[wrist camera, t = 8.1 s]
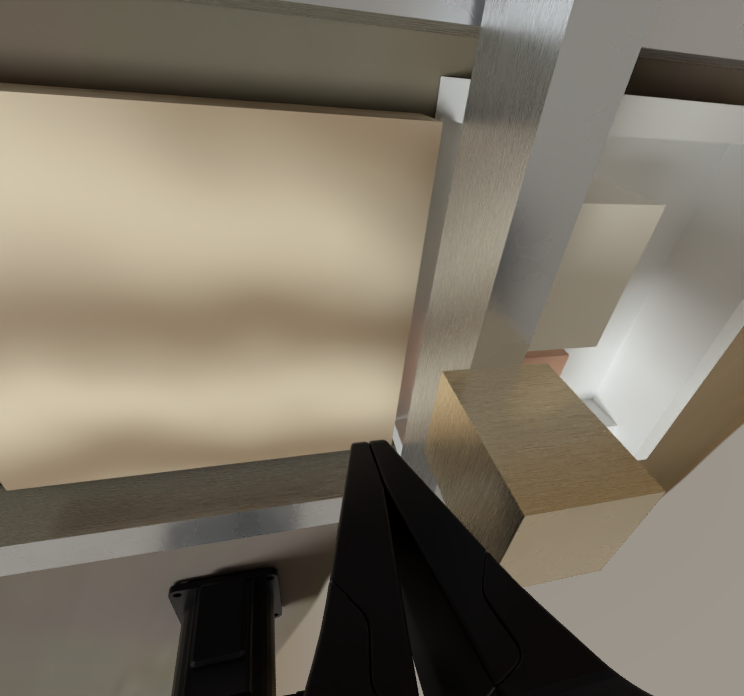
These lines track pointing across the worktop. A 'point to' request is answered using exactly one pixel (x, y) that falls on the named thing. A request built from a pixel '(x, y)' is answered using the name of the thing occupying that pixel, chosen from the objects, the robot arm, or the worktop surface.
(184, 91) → the worktop surface
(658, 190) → the box
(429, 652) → the robot arm
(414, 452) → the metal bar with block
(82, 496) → the rails
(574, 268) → the beige block
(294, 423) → the board
